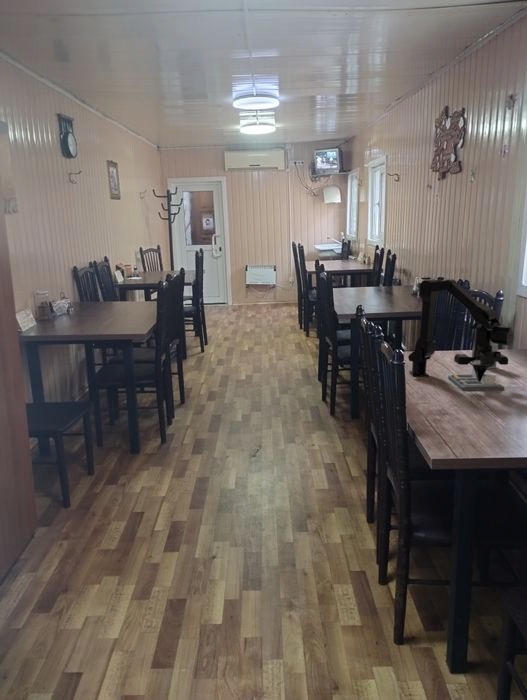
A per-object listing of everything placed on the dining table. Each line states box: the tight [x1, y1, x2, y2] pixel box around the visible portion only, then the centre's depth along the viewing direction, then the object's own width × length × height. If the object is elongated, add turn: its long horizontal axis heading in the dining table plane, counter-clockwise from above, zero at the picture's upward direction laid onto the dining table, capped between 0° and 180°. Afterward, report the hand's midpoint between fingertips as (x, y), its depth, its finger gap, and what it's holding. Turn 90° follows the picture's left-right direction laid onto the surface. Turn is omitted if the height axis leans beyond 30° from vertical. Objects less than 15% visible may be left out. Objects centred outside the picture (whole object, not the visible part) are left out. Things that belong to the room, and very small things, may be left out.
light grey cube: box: [471, 367, 487, 378], centre depth 225 cm, size 4×4×4 cm
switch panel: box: [447, 373, 505, 392], centre depth 221 cm, size 16×16×2 cm
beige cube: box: [481, 372, 497, 384], centre depth 216 cm, size 4×4×4 cm
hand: (479, 381), depth 216 cm, fingers closed
